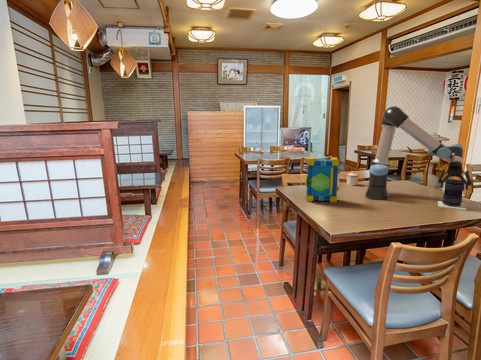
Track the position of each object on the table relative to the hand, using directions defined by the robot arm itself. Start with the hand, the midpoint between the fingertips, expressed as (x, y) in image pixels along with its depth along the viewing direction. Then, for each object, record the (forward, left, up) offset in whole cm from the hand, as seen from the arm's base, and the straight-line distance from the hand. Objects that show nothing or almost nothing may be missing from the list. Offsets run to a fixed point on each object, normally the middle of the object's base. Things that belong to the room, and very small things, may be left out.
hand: (453, 192), depth 176 cm
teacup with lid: (-69, +38, -10) cm, 79 cm away
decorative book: (-76, -25, -10) cm, 81 cm away
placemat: (0, +3, -10) cm, 10 cm away
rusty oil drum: (0, +3, -8) cm, 9 cm away
